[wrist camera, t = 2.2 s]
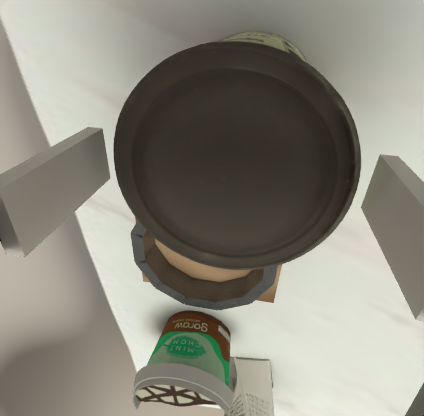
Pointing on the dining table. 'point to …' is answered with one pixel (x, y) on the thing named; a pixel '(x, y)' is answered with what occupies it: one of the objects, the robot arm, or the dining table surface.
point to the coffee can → (237, 153)
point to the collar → (192, 287)
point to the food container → (188, 364)
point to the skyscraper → (250, 387)
